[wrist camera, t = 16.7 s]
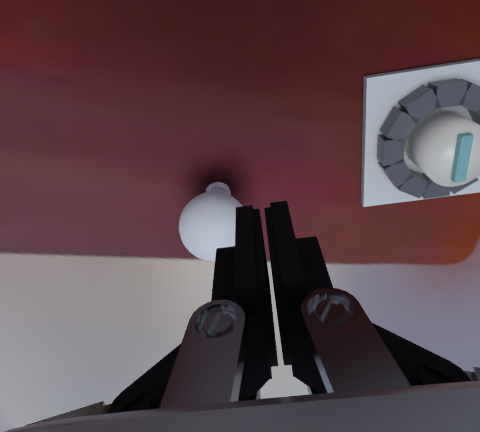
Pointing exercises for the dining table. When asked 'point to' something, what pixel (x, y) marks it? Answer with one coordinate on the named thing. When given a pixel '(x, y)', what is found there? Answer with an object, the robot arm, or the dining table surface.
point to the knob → (445, 148)
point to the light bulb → (209, 221)
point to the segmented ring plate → (411, 127)
